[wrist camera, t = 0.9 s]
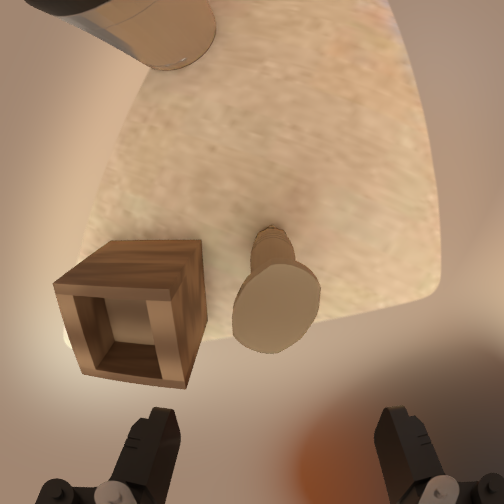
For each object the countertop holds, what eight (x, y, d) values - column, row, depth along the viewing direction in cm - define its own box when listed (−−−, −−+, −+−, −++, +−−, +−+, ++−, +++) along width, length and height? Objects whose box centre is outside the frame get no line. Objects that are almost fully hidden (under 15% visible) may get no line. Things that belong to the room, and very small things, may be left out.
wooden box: (110, 240, 34) (52, 283, 22) (201, 239, 33) (169, 289, 22) (124, 315, 37) (82, 374, 26) (207, 320, 36) (186, 389, 25)
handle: (306, 223, 32) (336, 285, 18) (278, 274, 34) (284, 362, 20) (264, 202, 32) (263, 250, 17) (237, 255, 34) (218, 336, 19)
